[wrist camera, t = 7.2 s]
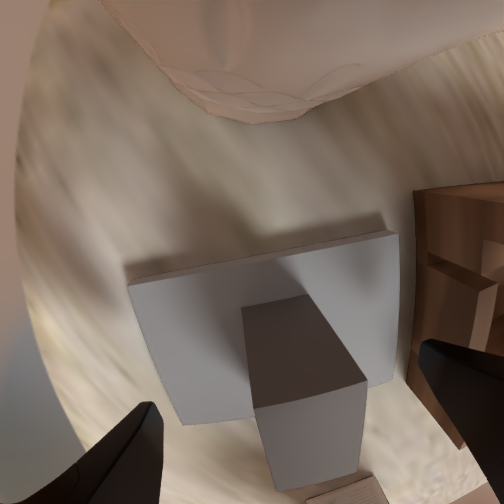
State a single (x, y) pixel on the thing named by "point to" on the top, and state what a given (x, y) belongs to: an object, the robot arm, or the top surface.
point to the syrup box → (354, 494)
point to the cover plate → (215, 328)
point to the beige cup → (294, 46)
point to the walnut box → (457, 278)
